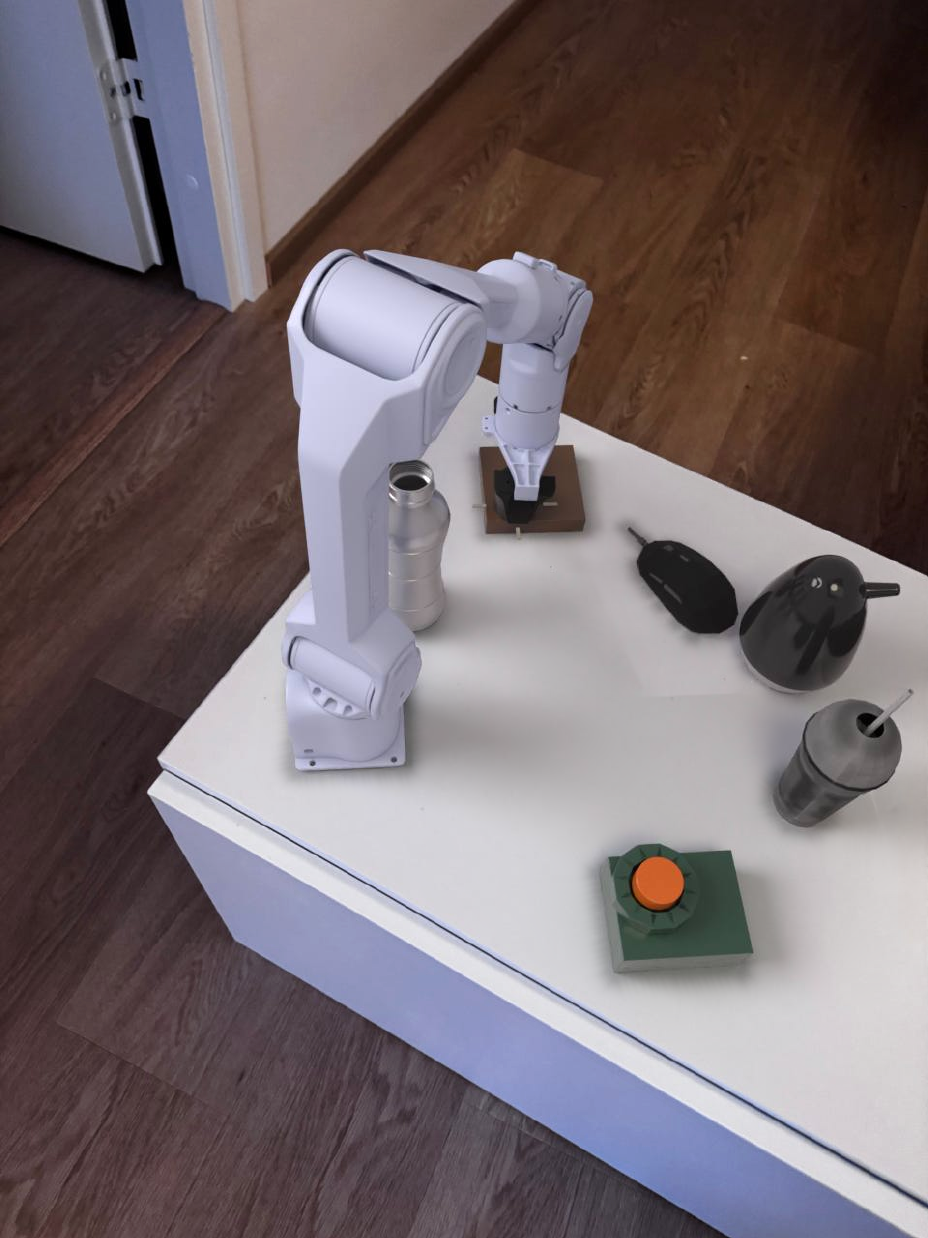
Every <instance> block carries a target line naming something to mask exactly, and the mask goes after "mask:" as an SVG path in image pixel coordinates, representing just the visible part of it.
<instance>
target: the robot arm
mask: <svg viewBox="0 0 928 1238" xmlns="http://www.w3.org/2000/svg"><path fill="white" fill-rule="evenodd" d="M362 254H363V256H364V258H365V259H363V258H361V256H360V255H359V254H357V253H356V252H354V251H352V250H350V249H347V248H339V249H334V250H333V251H332V252H330V253H328V254H327V255H326V256H323V258H322V259H321V260H319V261H318V262H317V263H316V264H315V266H314V267H313V268H312V269H311V271H310V272H309V273H308V275H307V276H306V278H305V280H304V282H303V284H302V287H301V289H300V292H299V294H298V297H297V299H296V301H295V303H294V305H293V306H292V309H291V312H290V314H289V318H288V320H287V322H286V331H287V340H288V351H289V359H290V360H289V361H290V369H291V379H292V389H293V399H294V400H295V401H296V403H297V405H298V406H299V408H300V410H299V411H300V412H299V413H300V414H299V426H298V427H299V428H298V439H297V461H298V471H299V480H300V488H301V489H300V490H301V498H302V499H301V500H302V508H303V518H304V527H305V528H304V529H305V535H306V546H307V547H306V548H307V555H308V565H309V575H310V585H311V587H310V589H308V590H307V591H306V592H305V593H304V594H303V595H302V596H301V598H299V599H298V601H297V602H296V603H295V605H293V607H292V608H291V610H290V611H289V613H288V614H287V616H286V618H285V633H284V635H283V639H282V642H281V649H280V651H281V660H282V663H283V665H284V667H286V677H285V711H286V722H287V729H288V733H289V737H290V741H291V747H292V750H293V753H294V759H295V760H294V765H295V768H296V770H298V771H301V772H302V771H303V772H304V771H305V772H306V771H323V770H324V771H325V770H326V771H327V770H345V769H369V768H371V769H372V768H392V767H403V766H404V765H405V764H406V761H407V760H406V759H407V756H406V737H405V735H406V734H405V712H404V711H405V709H404V703H405V702H406V700H407V699H408V697H409V696H410V695H411V693H412V691H413V689H414V687H415V685H416V683H417V681H418V679H419V676H420V673H421V670H422V665H423V659H422V656H421V655H422V653H421V650H420V648H419V647H418V646H416V634H415V633H414V631H413V632H412V631H411V630H410V629H409V627H408V626H407V625H406V624H405V623H404V622H403V621H402V620H401V619H400V618H399V617H398V615H397V614H396V613H395V612H394V611H393V610H392V609H391V608H390V606H389V605H388V599H389V468H390V465H392V464H393V463H397V462H404V461H411V460H418V459H420V460H422V458H423V457H424V456H425V453H426V452H427V451H428V449H429V447H430V446H431V444H433V443H434V442H435V441H436V440H437V438H438V436H439V435H440V433H441V432H442V430H443V428H444V427H445V425H446V424H447V422H448V421H449V419H450V417H451V416H452V414H453V413H454V411H455V409H456V408H457V406H458V405H459V403H460V401H461V400H462V399H463V398H464V397H465V396H466V394H467V393H468V391H469V389H470V388H471V386H472V385H473V383H474V382H475V379H476V377H477V375H478V373H479V370H480V368H481V365H482V362H483V360H484V357H485V352H486V350H487V349H486V348H487V343H488V342H490V343H493V344H498V345H502V351H501V361H500V370H499V371H500V372H499V380H498V390H497V395H496V396H495V397H494V399H493V414H492V415H490V414H486V415H483V417H482V418H481V434H482V435H483V436H484V437H486V438H487V437H489V438H490V437H491V438H493V439H494V440H495V442H496V444H497V446H499V448H500V450H501V452H502V454H503V457H504V459H505V461H506V463H507V465H508V467H509V469H510V471H505V470H494V490H495V493H496V495H497V496H498V497H499V498H500V499H501V500H502V502H503V505H504V511H505V517H506V520H507V523H510V524H528V523H529V521H530V520H531V518H532V517H533V515H534V513H535V511H536V510H537V508H538V507H539V506H540V505H541V504H542V503H543V502H544V501H546V500H548V499H550V498H552V497H553V495H554V493H555V489H556V482H555V476H541V475H542V473H543V471H544V468H545V466H546V464H547V462H548V459H549V457H550V455H551V453H552V451H553V448H554V446H555V445H557V441H558V439H559V435H560V429H561V428H560V426H561V425H560V417H561V412H562V407H563V402H564V401H563V400H564V396H565V391H566V385H567V380H568V374H569V370H570V369H569V368H570V363H571V360H572V358H573V357H574V356H575V355H576V354H577V351H578V348H579V346H580V343H581V337H582V333H583V331H584V328H585V326H586V323H587V321H588V318H589V316H590V314H591V309H592V307H593V302H594V297H593V292H592V290H589V289H587V283H586V281H585V280H583V279H581V278H578V277H576V276H574V275H571V274H569V273H566V272H565V271H562V270H559V269H558V266H557V264H556V263H555V262H551V261H549V260H547V259H543V258H540V259H539V258H536V257H533V256H532V255H529V254H527V253H525V252H523V251H522V252H521V251H515V252H514V255H513V257H512V259H509V258H501V259H496V260H492V261H490V262H488V263H486V264H484V265H482V266H481V267H480V268H479V269H478V270H476V271H474V270H470V269H467V268H464V267H463V268H462V267H458V266H454V265H450V264H447V263H443V262H439V261H435V260H431V259H426V258H422V257H416V256H410V255H405V254H402V253H401V254H400V253H395V252H390V251H385V250H378V249H369V250H364V251H363V253H362ZM393 759H394V760H396V761H392V760H393ZM312 763H314V765H312Z"/></svg>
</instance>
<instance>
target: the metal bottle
mask: <svg viewBox="0 0 928 1238" xmlns="http://www.w3.org/2000/svg"><path fill="white" fill-rule="evenodd" d="M450 524H451V510H450V507H449V504H448V502H447V500H446V498H445V496H443V494H442V493H441V492H440V491H439V490H438V489H436V482H435V474H434V470H433V468H432V466H431V465H430V464H429V462H426V461H425V460H423V459H418V460H411V461H404V462H397V463H391V464H390V465H389V599H388V605H389V606H390V608H391V609H392V610H393V611H394V612H395V613H396V614H397V615H398V617H399V618H400V619H401V620H402V621H403V622H404V623H405V624H406V625H407V626H408V627H409V629H410V630H411V631H412V632H413V633H414V632H419V631H422V630H425V629H427V628H429V627H430V626H432V625H433V624H434V623H436V622H437V620H438V619H439V618H440V616H441V614H442V613H443V609H444V606H445V603H446V598H447V597H446V595H447V594H446V588H445V584H444V580H443V575H442V564H441V563H442V556H443V550H444V545H445V542H446V539H447V535H448V532H449V528H450Z"/></svg>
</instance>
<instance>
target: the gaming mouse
mask: <svg viewBox="0 0 928 1238" xmlns="http://www.w3.org/2000/svg"><path fill="white" fill-rule="evenodd" d="M627 531H628V532H629V533H630V534H631V535H632V536H633V537H634V538H635V539H636V540H637V542H638V543H639V544H640V545H641V546H643V547H642V548H641V550H640V553H639V555H638V557H637V559H636V565H637V570H638V573H639V575H640V577H641V578H642V579H643V581H644V582H645V583H646V585H647V586H648V587H649V588H650V590H651V591H652V592H653V593H654V595H655V596H656V597H657V599H659V600H660V602H661V603H662V604H663V606H664V607H665V609H667V611H668V612H669V614H670V615H671V616H672V617H673V618H674V619H675V620H676V621H677V622H678V623H679V624H681V625H682V626H683V627H685V628H686V629H687V630H689V631H690V632H692V633H695V634H699V635H703V634H704V635H720V634H721V633H723V632H725V631H727V630H729V629H730V628H732V627H733V626H735V624H736V622H737V619H738V617H739V608H738V607H739V606H738V601H737V594H736V589H735V588H734V586H733V584H732V583H731V582H730V580H729V578H728V577H727V576H726V575H725V573H724V572H723V571H722V570H721V569H720V568H718V566H716V565H715V563H713V562H712V561H711V560H710V559H709V558H707V557H706V556H704V555H703V554H701V553H700V552H698V551H697V550H695V549H694V548H692V547H690V546H688V545H686V544H684V543H682V542H680V541H675V540H671V539H667V540H653V541H651V542H648V541H647V540H646V539H645V537H643V536H641V535H640V534H638V533H637V532H636V531H635V530H634V529H633V528H632V527H631V526H629V527H628V528H627Z"/></svg>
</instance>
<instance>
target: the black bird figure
mask: <svg viewBox="0 0 928 1238" xmlns="http://www.w3.org/2000/svg"><path fill="white" fill-rule="evenodd" d="M858 567H859V566H857V565H856V564H855V563H854V562H853V561H852V560H850V559H848V558H846V557H845V556H841V555H838V554H821V555H820V554H819V555H816V556H812V557H809V558H807V559H804V560H802V561H800V562H798V563H796V564H794V565H793V566H791V567H790V568H787V569H786V570H785V571H783V572H782V573H781V574H779V575H778V576H776V577H775V578H774V579H773V580H771V581H770V582H769V583H768V584H767V585H766V586H765V587H763V589H762V590H761V591H760V592H759V593H758V594H757V595H756V597H755V598H754V599H753V600H752V601H751V602H750V604H749V605H748V607H747V608H746V610H745V612H744V614H743V615H742V618H741V621H740V624H739V629H738V639H739V644H740V649H741V655H742V657H743V661H744V662H745V664H746V666H747V668H748V670H750V673H752V674H753V676H755V678H756V679H757V680H759V682H761V683H763V684H764V685H766V687H769V688H770V689H773V690H776V691H779V692H782V693H786V694H805V693H806V694H807V693H811V692H814V691H818V690H822V689H825V688H827V687H830V686H832V685H834V684H835V683H837V681H839V680H840V679H841V678H842V677H843V676H844V674H845V673H846V672H847V671H848V669H849V667H850V666H851V664H852V663H853V661H854V660H855V659H854V658H855V657H856V654H857V653H858V650H859V648H860V645H861V643H862V640H863V637H864V633H865V631H866V625H867V619H868V612H869V611H868V610H869V601H868V600H871V599H882V598H889V597H891V598H892V597H897V596H899V595H900V594H901V585H900V584H899V583H898V582H878V581H876V582H875V581H873V582H872V581H865V578H864V576H863V574H862V572H861V570H860V569H859V568H858Z"/></svg>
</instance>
